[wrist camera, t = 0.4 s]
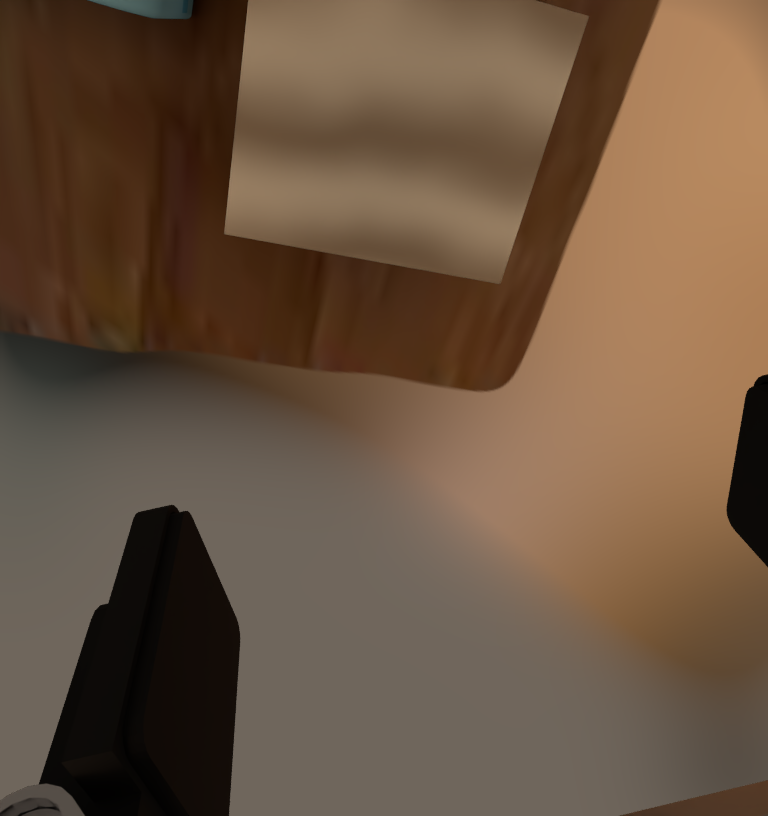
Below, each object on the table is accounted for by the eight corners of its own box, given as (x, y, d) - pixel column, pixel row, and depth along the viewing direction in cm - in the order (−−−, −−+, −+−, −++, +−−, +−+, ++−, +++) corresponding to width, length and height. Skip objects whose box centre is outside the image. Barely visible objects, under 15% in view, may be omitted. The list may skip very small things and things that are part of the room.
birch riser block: (260, -69, 30) (257, -84, 25) (549, 16, 33) (588, 16, 29) (230, 208, 36) (224, 234, 32) (476, 255, 39) (500, 284, 35)
